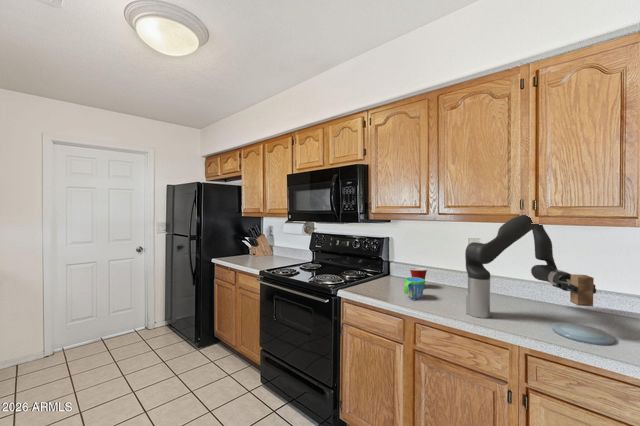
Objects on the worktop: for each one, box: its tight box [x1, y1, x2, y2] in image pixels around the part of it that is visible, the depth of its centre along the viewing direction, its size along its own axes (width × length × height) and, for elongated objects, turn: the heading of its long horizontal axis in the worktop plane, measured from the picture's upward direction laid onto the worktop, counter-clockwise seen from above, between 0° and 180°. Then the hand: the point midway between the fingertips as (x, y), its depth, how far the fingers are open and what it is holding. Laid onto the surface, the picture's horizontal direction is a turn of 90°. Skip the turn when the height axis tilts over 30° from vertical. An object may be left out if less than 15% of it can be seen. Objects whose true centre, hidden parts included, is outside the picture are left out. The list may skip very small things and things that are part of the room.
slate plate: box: [552, 322, 615, 346], centre depth 116 cm, size 18×18×1 cm
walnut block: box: [569, 273, 595, 307], centre depth 116 cm, size 5×5×11 cm
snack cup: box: [403, 276, 426, 300], centre depth 164 cm, size 16×10×10 cm
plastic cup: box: [408, 267, 428, 281], centre depth 185 cm, size 11×11×12 cm
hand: (585, 290), depth 114 cm, fingers closed on walnut block, 5 cm apart
